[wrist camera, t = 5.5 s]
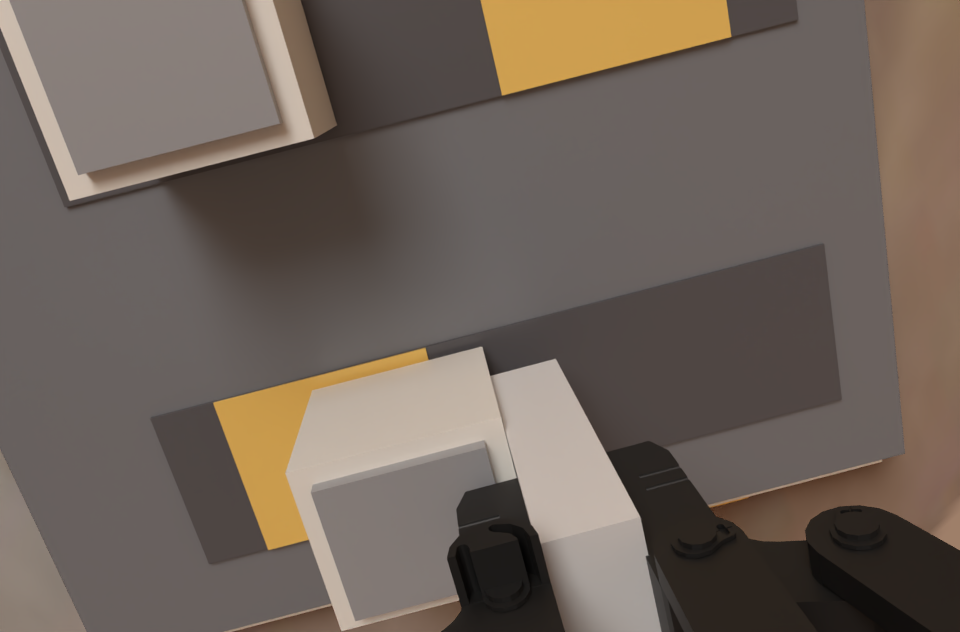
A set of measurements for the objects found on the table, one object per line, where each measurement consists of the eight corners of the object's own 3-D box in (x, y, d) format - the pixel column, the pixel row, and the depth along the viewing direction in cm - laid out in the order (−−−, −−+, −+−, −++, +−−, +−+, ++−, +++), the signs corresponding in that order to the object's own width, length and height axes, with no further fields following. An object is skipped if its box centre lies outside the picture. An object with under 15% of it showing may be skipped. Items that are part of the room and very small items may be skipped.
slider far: (355, 520, 19) (340, 641, 15) (312, 390, 18) (282, 481, 14) (516, 478, 19) (545, 588, 15) (482, 346, 18) (502, 423, 14)
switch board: (129, 633, 22) (105, 679, 20) (-178, -42, 16) (-245, -57, 15) (871, 439, 22) (909, 469, 20) (795, -288, 17) (838, -329, 15)
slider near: (149, 173, 16) (61, 203, 12) (85, -4, 15) (-35, -35, 11) (337, 125, 16) (311, 140, 12) (284, -55, 15) (238, -104, 11)
